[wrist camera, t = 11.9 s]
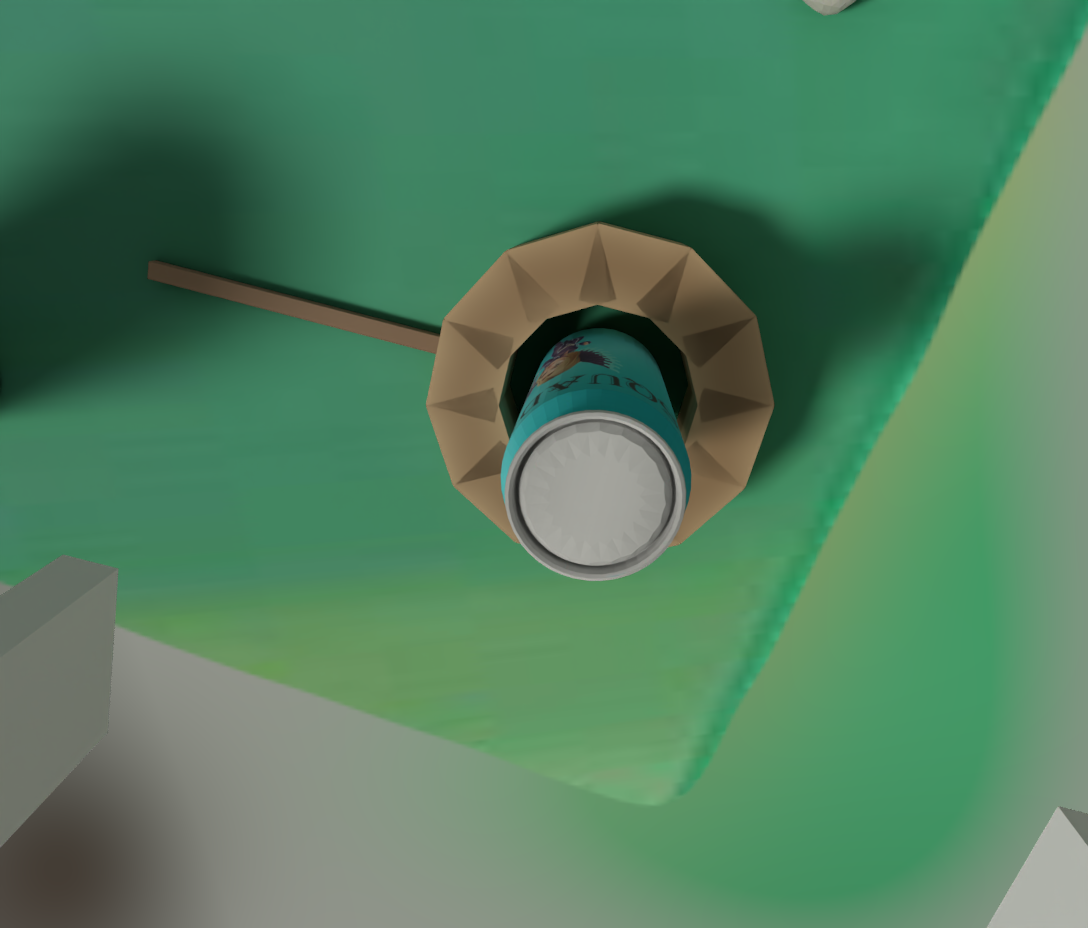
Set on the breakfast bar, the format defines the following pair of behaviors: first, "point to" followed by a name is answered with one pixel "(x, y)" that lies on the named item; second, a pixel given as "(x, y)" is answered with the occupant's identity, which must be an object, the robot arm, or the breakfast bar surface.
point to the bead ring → (623, 284)
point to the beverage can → (596, 460)
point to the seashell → (828, 5)
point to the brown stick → (293, 306)
